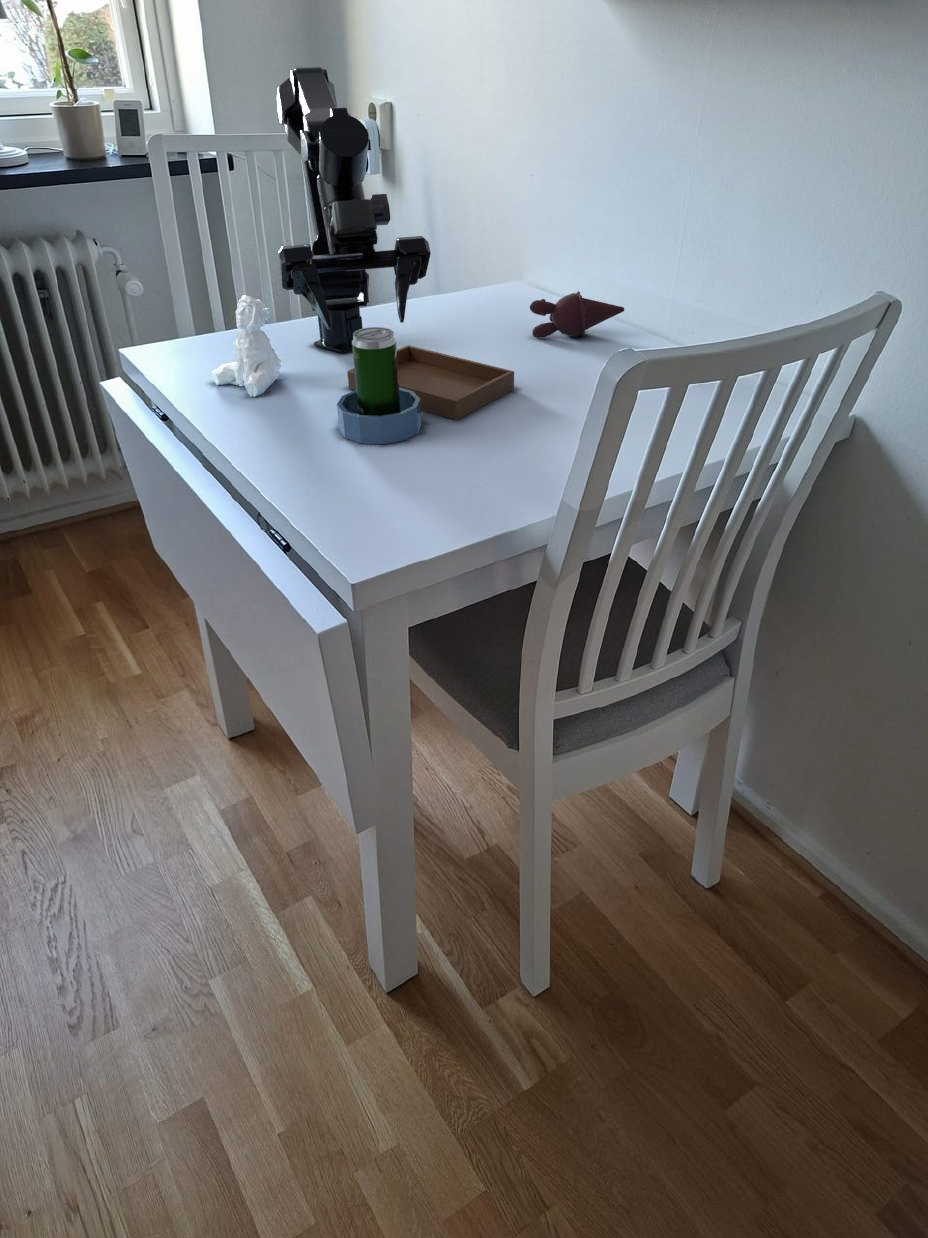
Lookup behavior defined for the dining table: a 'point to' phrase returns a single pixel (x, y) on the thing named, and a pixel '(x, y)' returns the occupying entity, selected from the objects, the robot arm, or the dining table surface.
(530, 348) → the dining table surface
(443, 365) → the tray
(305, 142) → the robot arm
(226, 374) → the white creature statuette
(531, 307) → the icecream
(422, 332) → the dining table surface
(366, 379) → the beer can
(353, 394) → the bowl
